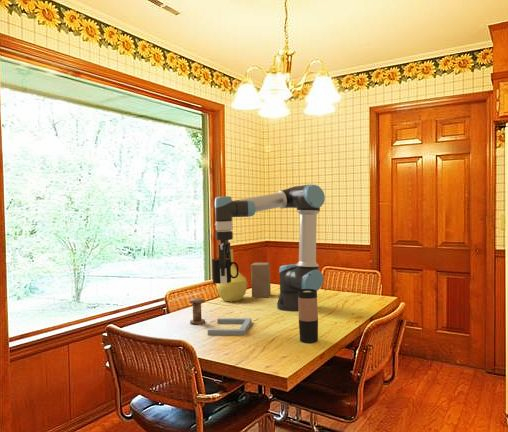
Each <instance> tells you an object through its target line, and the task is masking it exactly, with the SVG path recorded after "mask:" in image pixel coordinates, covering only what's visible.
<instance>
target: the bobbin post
mask: <svg viewBox="0 0 508 432" xmlns="http://www.w3.org/2000/svg"><path fill="white" fill-rule="evenodd" d="M204 302H205V298H202V297H197V298H194V297H193V298H190V299H189V303H190V304H192V319H191V320H189V324H190V325H194V326H195V325H199V326H200V325H202V324H205V322H206V320H205V319H204V318H203V317H202V303H204Z"/></svg>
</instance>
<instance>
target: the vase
mask: <svg viewBox="0 0 508 432" xmlns="http://www.w3.org/2000/svg"><path fill="white" fill-rule="evenodd" d="M230 250H231V262H235V261H234V249H230ZM236 274H237V267H236V265H235V264H232V265H231V275H232V276H233V277H235V276H236ZM215 284H216V290H217V293H218V296H219V297H220V298H221V299H222V300H223V301H225V302H227V301H230V303H233V302H232V301H235V302H239V301H241V300H242V299H243V298H244V296H245V295H246V292H247V289H248V281H247V278H246V277H245V276H243V274H242V273H241V272H240V271H239V274H238V276H237V278H231V282H229V283H222V284H217V283H215Z"/></svg>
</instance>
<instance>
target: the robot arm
mask: <svg viewBox="0 0 508 432" xmlns="http://www.w3.org/2000/svg"><path fill="white" fill-rule="evenodd" d="M325 200H326V196H325V193H324V190H323V189H322V187H320V186H319V185H317V184H311V183H310V184H303V185H295V186H292V187H291V186H290V187H289V188H286V189H281V190H278V191H277V192H275V193H269V194H265V195H264V194H263V195H258V196H253V197H252V196H251V197H248V198H247V197H246V198H241V199H236V200H235V199H234V200H233V199H232V196H230V195H229V196H217V197H215V198H214V214H215V216H214V218H215V223H214V227H215V231H216V232H215V240H216V241H220V244H218V258H219V267H218V269H220V282H221V283H227V270H226V259H227V258H230V261H231V250H232V249H231V242H229V241H231V240H233V238H234V236H233V234H234V232H233V231H232V230H233V228H234V227H233V218H245V217H246V218H250V217H254V215H256V213H258V212H262V211H267V210H273V209H277V208H279V209H296V212H297V213H298V214H299V235H298V236H299V238H298V240H299V241H298V242H299V243H298V262H297V263H294V264H284V265H281V266H279V271H278V274H279V297H278V300H277V304H276V307H277V310H282V311H291V312H294V311H298V290H301V289H315V290H317V292H318V291H319V290H320V289H321V288H322V286H323V284H324V275H323V273H322V271H320V265H319V264H318V262H317V226H318V225H317V217H318V214H319V213H320V212H321V207H322V206H323V205H324V203H325Z"/></svg>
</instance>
